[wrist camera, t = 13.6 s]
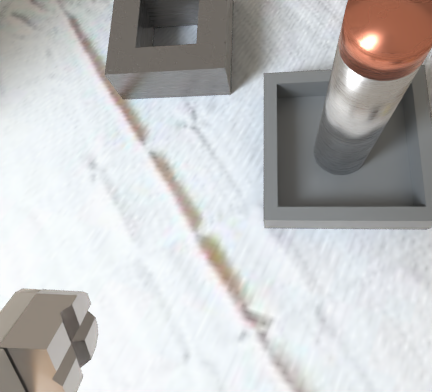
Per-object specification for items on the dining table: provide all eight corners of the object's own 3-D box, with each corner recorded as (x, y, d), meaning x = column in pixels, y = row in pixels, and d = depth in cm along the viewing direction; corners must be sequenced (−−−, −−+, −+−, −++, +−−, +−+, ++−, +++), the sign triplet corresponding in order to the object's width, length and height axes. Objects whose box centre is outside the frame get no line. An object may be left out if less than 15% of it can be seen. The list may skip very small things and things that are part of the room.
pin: (314, 175, 30) (348, 56, 16) (312, 129, 31) (342, -22, 17) (368, 174, 29) (453, 49, 15) (364, 127, 31) (440, -31, 16)
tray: (264, 228, 30) (263, 220, 27) (264, 92, 34) (263, 73, 31) (427, 229, 29) (444, 221, 26) (410, 86, 32) (424, 64, 29)
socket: (122, 99, 35) (104, 74, 32) (132, 8, 38) (117, -24, 34) (230, 94, 34) (225, 68, 30) (233, 0, 37) (228, -35, 33)
